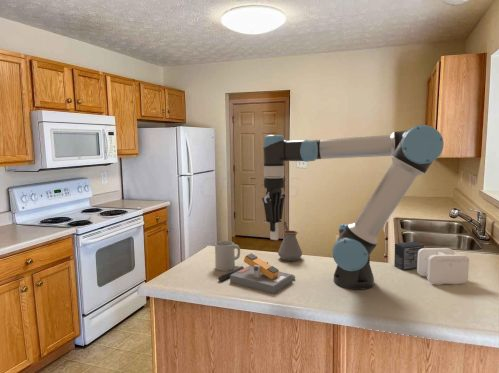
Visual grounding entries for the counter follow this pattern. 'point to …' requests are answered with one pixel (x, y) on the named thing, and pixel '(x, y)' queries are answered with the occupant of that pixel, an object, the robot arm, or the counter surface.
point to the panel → (260, 279)
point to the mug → (225, 255)
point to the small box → (407, 255)
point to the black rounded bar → (229, 273)
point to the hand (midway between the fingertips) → (274, 239)
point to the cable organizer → (442, 266)
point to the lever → (261, 266)
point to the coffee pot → (289, 246)
